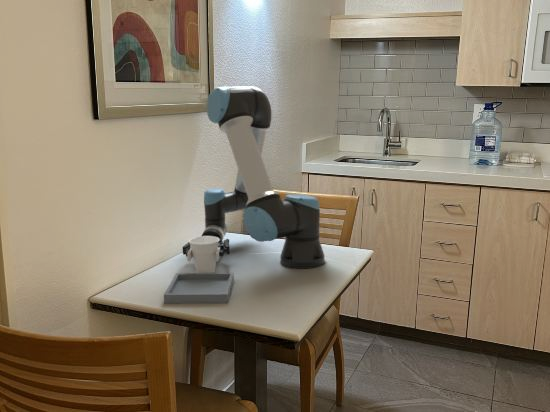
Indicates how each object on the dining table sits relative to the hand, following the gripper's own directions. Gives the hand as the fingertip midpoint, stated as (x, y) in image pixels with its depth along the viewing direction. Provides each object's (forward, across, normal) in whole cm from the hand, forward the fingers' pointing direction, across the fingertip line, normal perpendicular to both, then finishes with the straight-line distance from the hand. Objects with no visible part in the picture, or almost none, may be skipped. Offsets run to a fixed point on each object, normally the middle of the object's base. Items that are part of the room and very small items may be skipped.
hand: (202, 257), depth 173 cm
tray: (+12, -1, -6) cm, 14 cm away
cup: (-5, 0, -7) cm, 8 cm away
